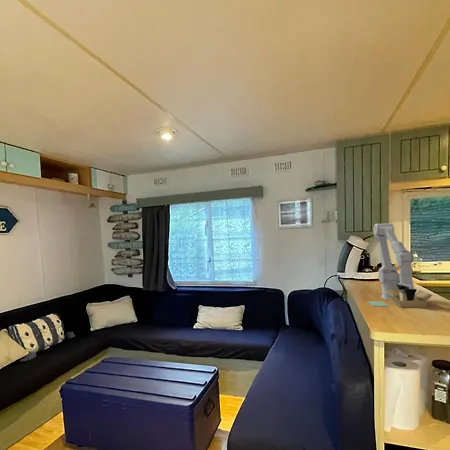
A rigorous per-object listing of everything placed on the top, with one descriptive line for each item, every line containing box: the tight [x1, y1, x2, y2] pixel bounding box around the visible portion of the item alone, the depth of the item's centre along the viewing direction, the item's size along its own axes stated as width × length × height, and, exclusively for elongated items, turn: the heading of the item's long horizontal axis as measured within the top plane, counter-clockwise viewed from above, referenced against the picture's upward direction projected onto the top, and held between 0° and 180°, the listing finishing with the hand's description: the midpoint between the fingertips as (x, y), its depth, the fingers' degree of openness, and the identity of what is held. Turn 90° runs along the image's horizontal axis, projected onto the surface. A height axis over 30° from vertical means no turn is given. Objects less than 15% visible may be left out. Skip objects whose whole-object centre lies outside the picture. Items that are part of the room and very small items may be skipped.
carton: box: [384, 289, 433, 308], centre depth 158 cm, size 18×18×6 cm
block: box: [399, 290, 416, 301], centre depth 156 cm, size 4×6×7 cm
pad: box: [367, 300, 391, 307], centre depth 159 cm, size 12×8×1 cm, turn 167°
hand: (407, 300), depth 156 cm, fingers open, 7 cm apart
